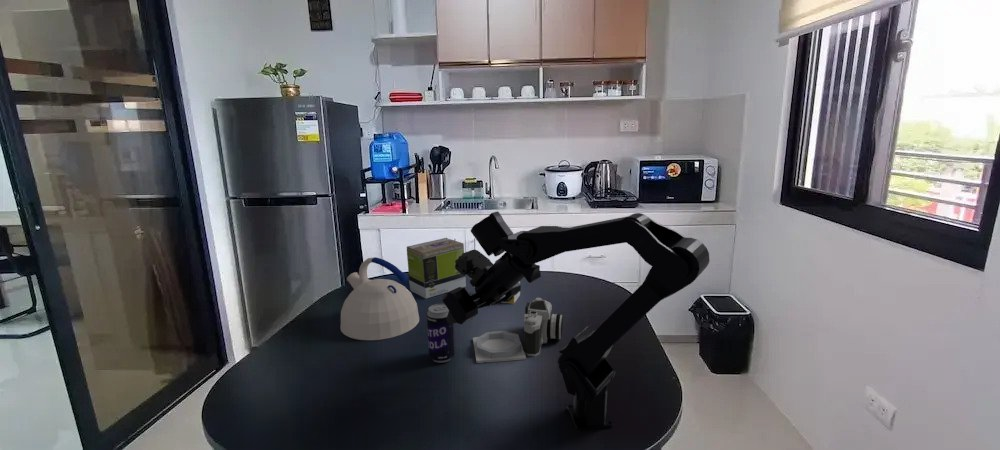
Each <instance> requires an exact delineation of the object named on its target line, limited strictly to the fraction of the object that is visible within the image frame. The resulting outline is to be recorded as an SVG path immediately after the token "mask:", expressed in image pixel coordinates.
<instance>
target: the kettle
mask: <svg viewBox="0 0 1000 450" xmlns="http://www.w3.org/2000/svg"><path fill="white" fill-rule="evenodd" d="M371 263H373V264H377V265H379V266H381V267H383V268H385V269H386V270H389V272H390V273H392V274H393V275H395V276H396V278H397V279H398V280H399V281H400V282H401V283H403V282H406V281H409V277H407V276H406V273H404V272H403V271H402V270H400V269H399V268H398V267H397V266H396V265H394V264H392V263H391V262H389V261H388V260H385V259H383V258H380V257H368V258H366V259H365V260H363V261H362V263H361V264H360V267H359V270H358V272H356V271H355V272H352V273H350V274H349V275H348V276H347V278H346V281H347V282H348V283H349V284H350V285H351V287H352V288H353V290H351V292H350V293H349V294H348V296H347V297H346V298H345V300H344V302H343V304H342V308H341V310H340V332H341V333H342V334H343V335H345V336H346V337H348V338H351V339H354V340H359V341H381V340H388V339H393V338H395V337H396V338H397V337H399V336H402V335H404V334H406V333H408V332H410V331H411V330H413V329H414V328H415V327H416V326H417V325H418V324H419V322H420V315H419V309H418V303H417V302H416V300H415V297H414V295H413V294H412V291H411V290H410V289H409V290H408V289H407V287H406V286H404V285H403V284H401V283H399V282H398V281H396V280H393V279H386V278H376V279H375V278H374V279H369V277H368V267H369V265H370V264H371Z"/></svg>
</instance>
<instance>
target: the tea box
mask: <svg viewBox="0 0 1000 450" xmlns="http://www.w3.org/2000/svg"><path fill="white" fill-rule="evenodd" d="M464 247H465V246H464V242H461V241H456V240H454V239H451V238H448V237H444V238H439V239H436V240H431V241H426V242H422V243H417V244H412V245H409V246H408V245H407V246H406V257H407V258H406V259H407V267H408V268H407V270H408V271H407V272H408V282H409V283H408V284H409V291H410V292H411V293H414V294H417V295H418V296H420V297H422V298H423V299H425V300H427V299H430V298H433V297H435V296H436V297H437V296H440V295H443V294H446V293H447V292H449V291H451V290H454V289H456V288H458V287H462V288H466V287H467V282H466V281H467V280H466V279H467V278H466V277H467V276H466V275H462V274H461V273H459V272H458V271H457V270H456V269H455V264H456V263H455V260H457V259H458V258H459V256H461V255H462V254H463V253H465V248H464Z"/></svg>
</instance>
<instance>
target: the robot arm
mask: <svg viewBox="0 0 1000 450" xmlns="http://www.w3.org/2000/svg"><path fill="white" fill-rule="evenodd" d="M470 232H471V234H472V235H473V237H474V239H475V240H476V242H478V244H479V245H480V246H481V249H483V251H484V253H485V254H486V255H487V256H488V257H490V256H492V255H493V256H494V257H498V256H500V255H501V256H500V257H499V258H498V259H496V260H497V261H496V260H495V261H496V262H495V261H494V263H493V262H492V261H491V260H490V259H489V258H488V257H487V256H486V255H484V254H483V253H482V252H481V251H479V250H477V249H471V250H469V251H464V253H463V254H462V255H461V256H459V258H458V259H457V260H455V263H456V264H455V269H456V270H457V271H458V272H459V273H461V274H462V275H465V276H466V275H467V276H468V277H469V278H471V279H470V280H469V281H468V283H470V285H471V287H474V291H475V293H473V294H472V295H470V294H469V292H468V291H467V289H466V287H463V288H462V287H458V288H456V289H454V290H451V291H449V292H446V293H444V295H443V297H442V303H443V304H445V305H446V307H447V308H448V310H449V312H448V315H447V318H446V321H447V322H448V324H452V323H453V324H459V325H464V324H466V323H467V322H469V321H470V320H472V319H473V318H475V317H476V316H477V315H478V314H479V309H481V308H485V307H486V308H487V307H490V306H493V305H496V304H500V303H501V302H503V301H505V300H507V299H509V298H511V297H513V296H515V295H516V294H517V293H518V292H520V293H521V287H522V286H521V280H523V279H524V278H525V280H526V281H527V283H529V284H531V283H533V282H534V281H536V280H538V279H540V278H541V274H542V273H541V270H540V268H541V266H540V265H539V264H538V263H540V262H543V261H546V260H549V259H550V258H552V257H555V256H558V255H561V254H563V253H567V252H572V251H573V252H575V251H580V250H586V249H592V248H598V247H599V248H600V247H604V246H605V247H606V246H607V247H608V246H612V245H617V244H619V245H620V244H628V245H629V246H630V247H632V248H633V249H634V251H636V253H637V254H638V255H639V256H640V257H641V258H642V260H643V261H644V262H645V263H647V264H648V265H649V266H651V267H650V268H649V271H648V273H647V274H646V276H645V279H644V280H643V282H642V284H640V285H639V287H637V289H635V291H633V293H631V294H630V296H628V298H626V299H625V300H624V301H623V302H622V304H621V305H619V307H618V308H617V309H615V311H614V312H613V313H611V314H610V315H609V316H608V317H607V319H605V321H604V322H603V323H602V324H601V325H600V326H598V328H597V329H595V330H592V329H591V328H590V326H589V325H587V326H586V327H584V328H583V329H582V330H580V331H579V332H578V333H577V334H576V335H575V336H573V337H572V338H571V339H570V341H569V342H568V343H567V344H566V345H564V346H563V348H561V349H559V351H558V353H559V354H561V355H560V356H559V357H558V360H557V364H558V369H559V370H560V373H561V375H562V379H563V381H564V385H565V388H566V391H567V393H568V394H569V395H571V396H573V403H572V404H568V405H567V411H568V412H569V415H570V418H571V420H572V422H573V425H574V426H575V428H576V430H580V431H581V430H590V429H600V428H602V429H603V428H611V427H613V425H614V422H613V421H612V419H611V417H610V415H609V413H608V412H607V411H608V410H607V400H608V386H607V385H608V384H609V383H610V381H613V379H614V377H615V375H616V373H617V370H616V369H615V367H614V366H613V365H612V363H611V362H610V361H609V360H608V358H607V357H608V356H609V354H610V352H611V350H612V348H613V347H614V345H615V344H616V343H617V342H618V341H619V340H620V339H621V338H623V337H624V336H625V335H626V334H627V333H628V332H629V331H630V330H631V329H632V328H633V327H635V326H636V325H637V324H638V322H639V321H640V320H641V319H643V318H644V317H645V316H646V315H647V314H648V313H649V312H650V311H651V310H652V309H654V307H655V306H657V305H658V303H660V302H661V301H663V300H664V299H666V298H668V297H670V296H672V295H674V294H677V293H678V292H680V291H682V290H683V289H684V288H686V287H688V286H690V285H691V284H693V283H694V282H695V281H696V280H697V278H698V277H699V276H700V275H701V274H702V273H703V272H704V270H705V269H706V268H707V267H708V266H709V264H710V262H711V260H710V252H709V249H708V248H707V246H706V245H705V244H704V243H703V242H701V241H700V240H699V239H697V238H693V237H686V236H684V235H683V234H682V233H681V232H678V231H677V230H675V229H673V228H670V227H668V226H665V225H663V224H662V223H659V222H657V221H655V220H654V219H652V218H650V216H648V215H646V214H644V213H641V212H638V213H637V212H635V213H633V214H630V215H627V216H623V217H618V218H611V219H607V220H602V221H596V222H592V223H591V222H590V223H585V224H580V225H577V226H570V227H566V226H564V227H563V226H558V225H539V226H537V227H535V228H532V229H529V230H520V231H518V232H515V233H514V232H513V230H512V229H511V228H510V227H509V225H508V224H507V223H506V221H505V220H504V218H503V216H502V215H501V213H500V212H499V210H498V211H494V212H491V213H490V214H489V215H488V216H486V217H485V218H482V220H480V221H479V222H477V223H475V224H474V225H473V226H472V227H471V229H470ZM519 281H520V283H519Z"/></svg>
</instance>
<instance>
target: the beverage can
mask: <svg viewBox="0 0 1000 450" xmlns="http://www.w3.org/2000/svg"><path fill="white" fill-rule="evenodd" d="M448 312H449V310H448V308H447V307H446V305H445V304H444V303H436V304H432V305H430V306H429V307H428V311H427V313H426V327H427V329H426V330H427V345H428V347H427V348H428V357H429V358H430V359H431V360H432V361H433V362H435V363H438V364H440V363H442V364H443V363H447V362H449V361H450V360H451V359H452V358H453V357H454V356H455V335H454V333H455V331H454V323H452V324H448V322H447V321H446V318H447V315H448Z"/></svg>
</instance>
